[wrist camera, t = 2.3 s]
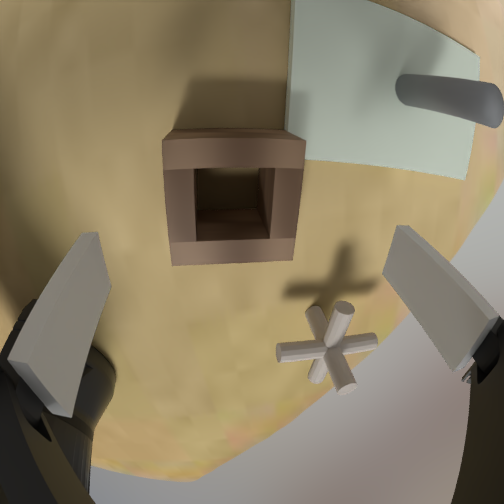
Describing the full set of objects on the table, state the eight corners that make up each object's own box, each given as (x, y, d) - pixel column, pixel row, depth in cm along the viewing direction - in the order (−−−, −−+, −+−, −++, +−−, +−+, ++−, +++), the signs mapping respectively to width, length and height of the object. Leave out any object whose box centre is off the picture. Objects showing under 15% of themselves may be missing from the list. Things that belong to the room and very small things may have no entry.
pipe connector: (274, 274, 26) (306, 361, 18) (367, 272, 28) (417, 341, 19) (261, 346, 31) (280, 424, 23) (340, 339, 33) (372, 405, 24)
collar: (177, 230, 22) (172, 265, 18) (172, 129, 18) (162, 140, 14) (276, 227, 23) (292, 260, 19) (283, 129, 19) (306, 140, 15)
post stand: (282, 155, 20) (338, 205, 12) (291, -15, 13) (353, -72, 5) (458, 177, 23) (527, 218, 15) (473, 56, 16) (549, 69, 8)
